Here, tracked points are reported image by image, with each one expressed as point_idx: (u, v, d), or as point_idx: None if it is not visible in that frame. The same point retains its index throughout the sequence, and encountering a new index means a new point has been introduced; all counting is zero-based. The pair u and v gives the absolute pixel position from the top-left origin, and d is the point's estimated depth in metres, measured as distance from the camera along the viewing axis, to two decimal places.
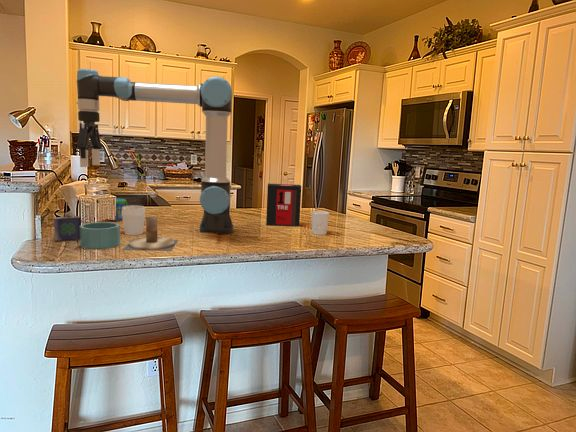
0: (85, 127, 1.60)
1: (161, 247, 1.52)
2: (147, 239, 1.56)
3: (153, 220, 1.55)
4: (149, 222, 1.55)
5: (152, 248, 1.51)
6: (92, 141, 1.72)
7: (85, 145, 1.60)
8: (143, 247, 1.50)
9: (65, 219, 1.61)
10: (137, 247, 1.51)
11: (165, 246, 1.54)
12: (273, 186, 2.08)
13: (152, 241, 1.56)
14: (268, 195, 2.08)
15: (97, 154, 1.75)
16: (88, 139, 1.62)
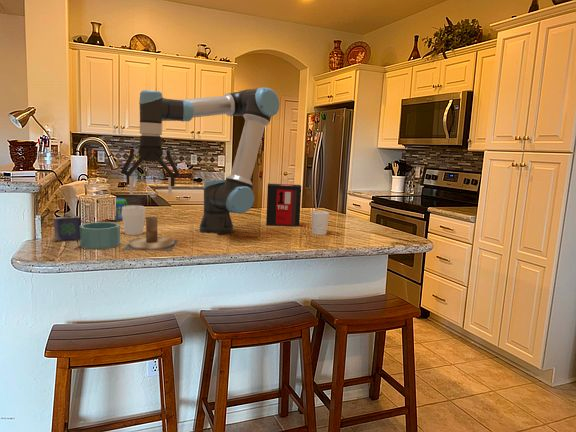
0: (130, 152, 1.51)
1: (161, 247, 1.52)
2: (147, 239, 1.56)
3: (153, 220, 1.55)
4: (149, 222, 1.55)
5: (152, 248, 1.51)
6: None
7: (128, 171, 1.52)
8: (143, 247, 1.50)
9: (65, 219, 1.61)
10: (137, 247, 1.51)
11: (165, 246, 1.54)
12: (273, 186, 2.08)
13: (152, 241, 1.56)
14: (268, 195, 2.08)
15: None
16: (135, 165, 1.52)
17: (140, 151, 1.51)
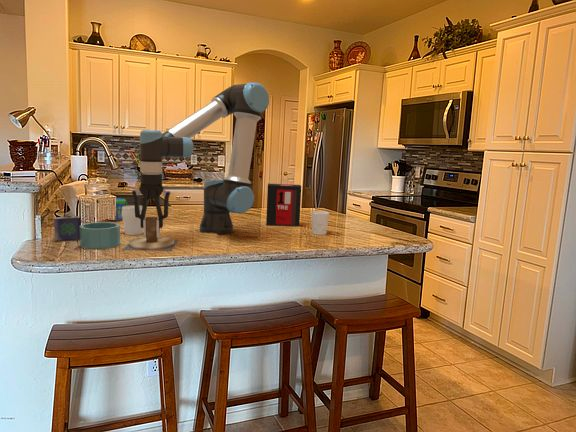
0: (133, 195, 1.54)
1: (161, 247, 1.52)
2: (147, 239, 1.56)
3: (153, 220, 1.55)
4: (149, 222, 1.55)
5: (152, 248, 1.51)
6: None
7: (140, 215, 1.55)
8: (143, 247, 1.50)
9: (65, 219, 1.61)
10: (137, 247, 1.51)
11: (165, 246, 1.54)
12: (273, 186, 2.08)
13: (152, 241, 1.56)
14: (268, 195, 2.08)
15: None
16: (144, 206, 1.54)
17: (141, 189, 1.53)
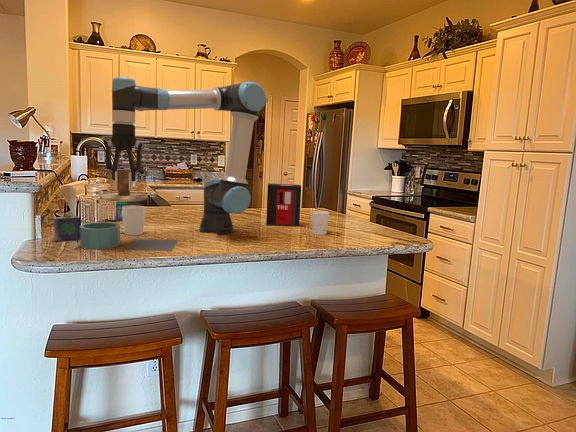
0: (105, 146, 1.49)
1: (133, 199, 1.48)
2: (119, 192, 1.52)
3: (125, 172, 1.50)
4: (121, 174, 1.50)
5: (123, 199, 1.46)
6: None
7: (112, 167, 1.50)
8: (114, 198, 1.45)
9: (65, 219, 1.61)
10: (108, 198, 1.46)
11: (137, 198, 1.49)
12: (273, 186, 2.08)
13: (124, 194, 1.51)
14: (268, 195, 2.08)
15: None
16: (115, 157, 1.50)
17: (113, 140, 1.49)
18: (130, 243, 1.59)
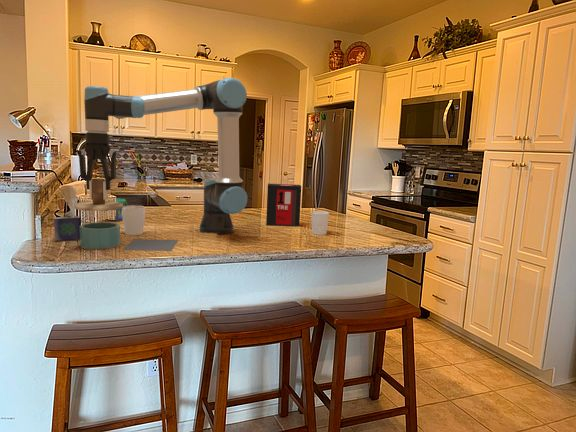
0: None
1: (106, 208, 1.47)
2: (93, 201, 1.51)
3: (99, 181, 1.50)
4: (95, 183, 1.49)
5: (96, 209, 1.45)
6: None
7: None
8: (87, 208, 1.45)
9: (65, 219, 1.61)
10: (81, 208, 1.45)
11: (111, 208, 1.48)
12: (273, 186, 2.08)
13: (98, 203, 1.51)
14: (268, 195, 2.08)
15: None
16: (89, 167, 1.49)
17: (86, 149, 1.48)
18: (130, 243, 1.59)
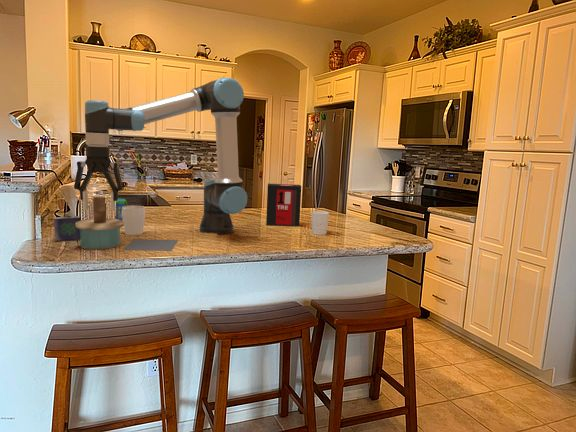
0: None
1: (107, 227, 1.48)
2: (94, 220, 1.52)
3: (100, 200, 1.51)
4: (96, 202, 1.51)
5: (98, 228, 1.47)
6: None
7: (80, 186, 1.50)
8: (88, 227, 1.46)
9: (65, 219, 1.61)
10: (82, 227, 1.47)
11: (112, 226, 1.49)
12: (273, 186, 2.08)
13: (99, 222, 1.52)
14: (268, 195, 2.08)
15: None
16: (86, 178, 1.50)
17: (87, 162, 1.49)
18: (130, 243, 1.59)
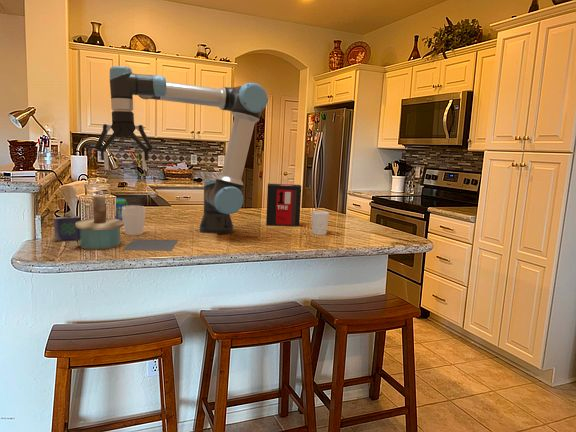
0: (103, 128, 1.55)
1: (107, 227, 1.48)
2: (94, 220, 1.52)
3: (100, 200, 1.51)
4: (96, 202, 1.51)
5: (98, 228, 1.47)
6: None
7: (102, 147, 1.56)
8: (88, 227, 1.46)
9: (65, 219, 1.61)
10: (82, 227, 1.47)
11: (112, 226, 1.49)
12: (273, 186, 2.08)
13: (99, 222, 1.52)
14: (268, 195, 2.08)
15: None
16: (109, 141, 1.56)
17: (113, 127, 1.55)
18: (130, 243, 1.59)
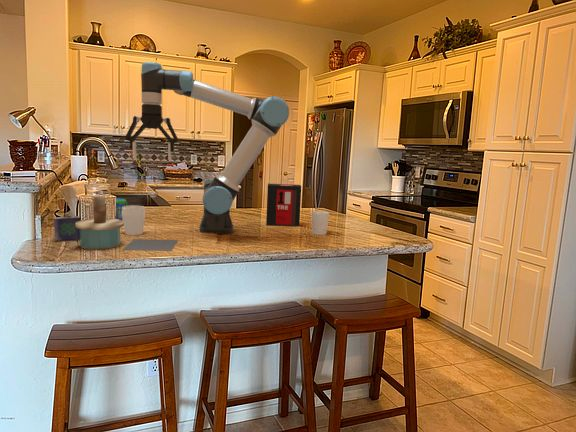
0: (133, 120, 1.65)
1: (107, 227, 1.48)
2: (94, 220, 1.52)
3: (100, 200, 1.51)
4: (96, 202, 1.51)
5: (98, 228, 1.47)
6: None
7: (131, 137, 1.66)
8: (88, 227, 1.46)
9: (65, 219, 1.61)
10: (82, 227, 1.47)
11: (112, 226, 1.49)
12: (273, 186, 2.08)
13: (99, 222, 1.52)
14: (268, 195, 2.08)
15: None
16: (138, 132, 1.66)
17: (142, 119, 1.65)
18: (130, 243, 1.59)
